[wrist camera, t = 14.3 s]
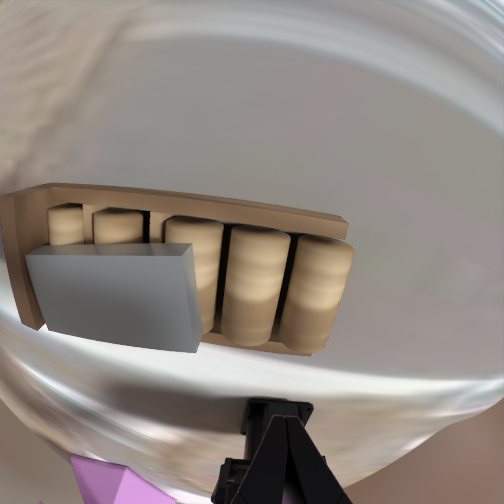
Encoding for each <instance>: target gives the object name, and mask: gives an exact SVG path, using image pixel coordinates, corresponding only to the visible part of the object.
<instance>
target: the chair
mask: <svg viewBox="0 0 504 504" xmlns="http://www.w3.org/2000/svg"><path fill="white" fill-rule="evenodd" d="M70 460H71V463H72V467H73V470H74V474H75V477H76V480H77V483H78V486H79V489H80V492H81V495H82V498H83V500H84V503H85V504H176V499H174V498H173V497H171V496H169V495H168V494H166V493H165V492H163V491H161V490H160V489H158V488H157V487H155V486H154V485H152V484H151V483H149V482H148V481H146V480H145V479H144V478H142V477H141V476H139V475H138V474H137V473H135V472H134V471H133V470H131V469H130V468H129V467H127V466H123V465H117V464H112V463H107V462H102V461H98V460H94V459H90V458H86V457H82V456H78V455H74V454H72V456H71V458H70ZM39 504H44V503H42V502H41V501H40V502H39Z"/></svg>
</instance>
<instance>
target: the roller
mask: <svg viewBox="0 0 504 504" xmlns="http://www.w3.org/2000/svg"><path fill="white" fill-rule="evenodd" d="M143 225H144V213H143V212H142V211H140V210H135V209H126V208H110V209H104V210H100V211H97V212H95V213H94V244H143Z"/></svg>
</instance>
